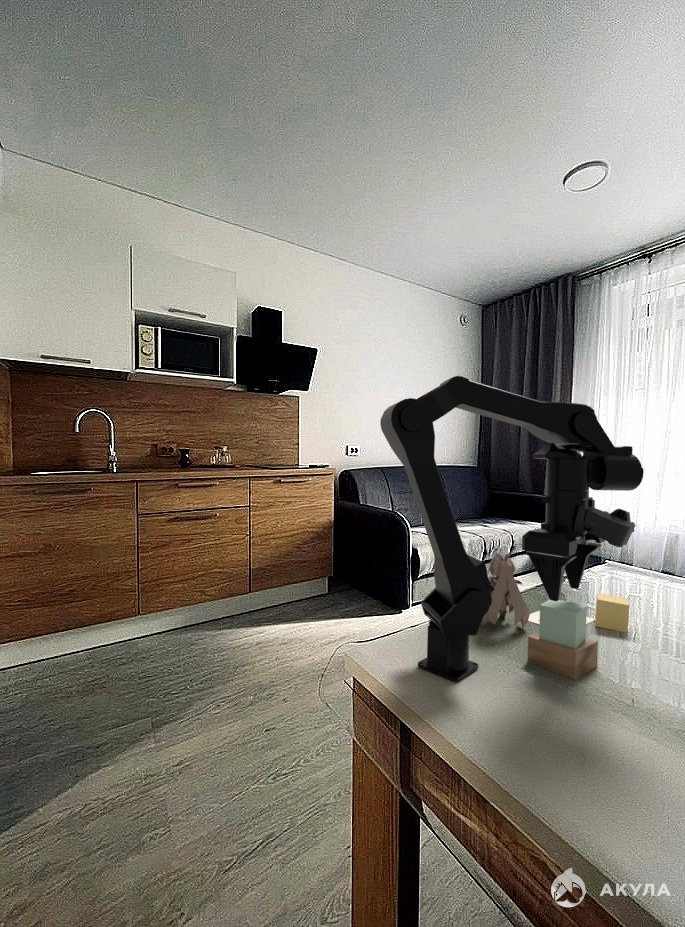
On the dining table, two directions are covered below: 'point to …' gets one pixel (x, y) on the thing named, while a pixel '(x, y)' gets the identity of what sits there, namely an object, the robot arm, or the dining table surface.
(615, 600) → the brick
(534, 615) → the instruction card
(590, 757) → the dining table surface
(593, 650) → the base block
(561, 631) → the pale green cube
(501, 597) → the toy
